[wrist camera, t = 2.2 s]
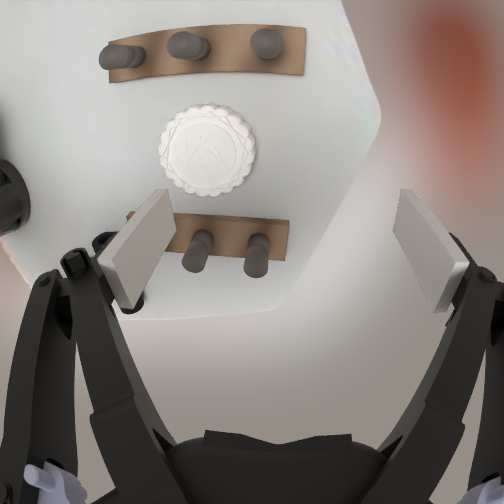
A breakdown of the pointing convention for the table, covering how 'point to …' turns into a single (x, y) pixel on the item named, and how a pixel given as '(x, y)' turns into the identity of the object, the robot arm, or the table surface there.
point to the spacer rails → (214, 60)
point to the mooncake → (207, 149)
